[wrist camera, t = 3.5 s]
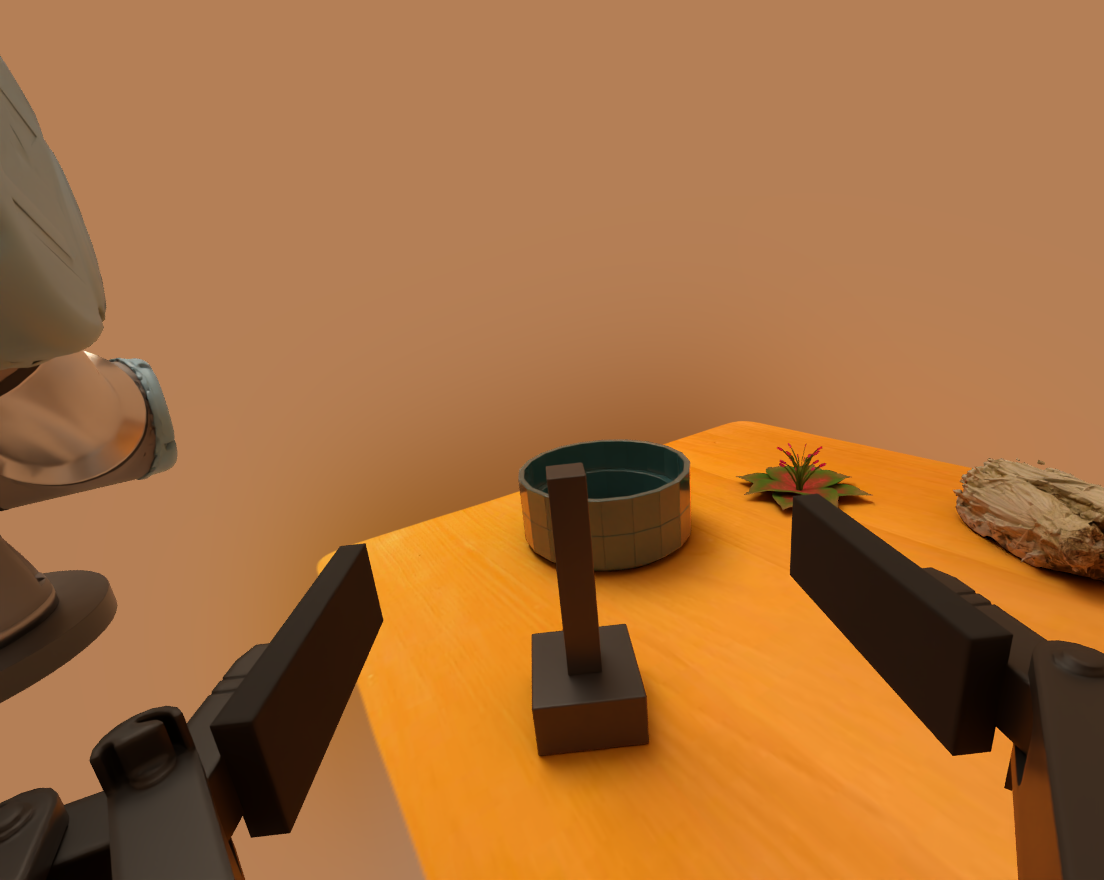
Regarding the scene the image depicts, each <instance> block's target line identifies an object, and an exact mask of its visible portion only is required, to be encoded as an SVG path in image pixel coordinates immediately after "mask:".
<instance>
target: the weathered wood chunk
mask: <svg viewBox="0 0 1104 880" xmlns="http://www.w3.org/2000/svg"><path fill="white" fill-rule="evenodd" d="M1016 460H1018V461H1020V460H1019V459H1018V458H1017V459H1016ZM1038 464H1045V463H1044V462H1043V461H1040V460H1038ZM975 468H976V469H974V468H972V469H971V470H970V471H967V474H966V475H963V476H962V479H963V480H962V479H961V481H960V482H962V483H966V484H963V485H962V486H963V488H964V491H963V493H962V490H953V491H954V493H955V494H956V496H958V498H957V501H956V502H957V506H956V509H957V511H958V513H959V515H960V517H961V518H962V520H963V521H964V522H965V523H966V524H967V525H968V526H969V527H970V528H971V529H972V530H974V531H975V532H977V533H979V534H980V535H982V536H983V537H984V536H987V535H988V536H990V537H992V538H994V539H995V540H996V541H997V542H998V543H999V544H1000V545H1001V546H1002V547H1003V548H1005V549H1006V550H1007V551H1010V552H1011V553H1013V554H1014V555H1016V556H1018V557H1020V558H1022V561H1021V562H1023V561H1025V562H1027V563H1028V564H1030V565H1032V566H1035V567H1038V568H1039V567H1045V568H1049V569H1053V570H1058V571H1063V572H1070V573H1072V574H1077V575H1081V576H1087V577H1090V578H1093V579H1101V580H1102V581H1104V488H1103V487H1101V485H1095V484H1090V483H1087V482H1085V481H1082V480H1080V479H1078V478H1076V477H1074V476H1073V475H1072V474H1067V473H1065V472H1063V471H1060V470H1058V469H1053V468H1046V470H1041V469H1038V468H1036V467H1033V466H1031V465H1028V464H1026V463H1023V464H1022V463H1018V462H1011V461H1007V460H1004V459H1002V458H1001V459H999V460H994V459H991V458H989V459H988V461H987V462H984V467H975Z"/></svg>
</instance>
